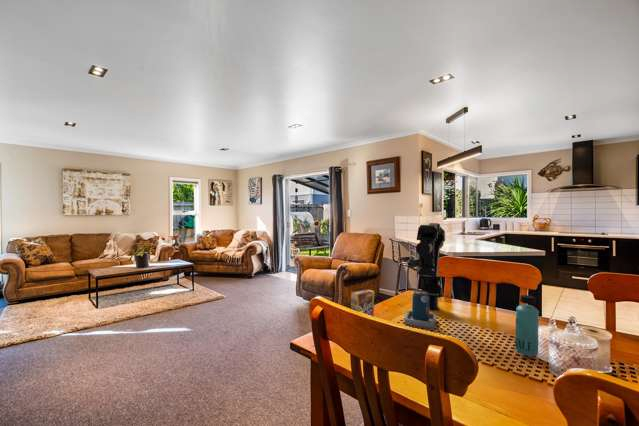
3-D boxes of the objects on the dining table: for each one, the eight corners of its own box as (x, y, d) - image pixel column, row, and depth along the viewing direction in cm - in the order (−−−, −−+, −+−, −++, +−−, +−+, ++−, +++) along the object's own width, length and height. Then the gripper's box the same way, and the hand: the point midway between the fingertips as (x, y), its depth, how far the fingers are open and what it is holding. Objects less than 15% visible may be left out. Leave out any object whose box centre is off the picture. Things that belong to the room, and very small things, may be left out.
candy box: (356, 334, 115) (357, 294, 115) (349, 330, 119) (350, 291, 119) (374, 329, 120) (374, 291, 120) (366, 325, 124) (367, 288, 124)
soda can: (430, 323, 125) (431, 294, 125) (413, 322, 126) (414, 294, 126) (427, 317, 132) (427, 290, 132) (410, 316, 133) (411, 289, 132)
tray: (407, 315, 136) (407, 310, 136) (435, 319, 132) (435, 313, 132) (404, 325, 125) (404, 319, 125) (435, 329, 121) (435, 323, 121)
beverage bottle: (534, 353, 101) (535, 294, 101) (541, 363, 95) (543, 299, 95) (512, 350, 104) (513, 292, 103) (517, 359, 97) (519, 297, 97)
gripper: (410, 249, 147) (409, 281, 147) (406, 254, 129) (405, 291, 129) (434, 250, 143) (434, 283, 143) (434, 256, 125) (433, 293, 125)
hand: (426, 287), depth 135 cm, fingers open, 9 cm apart
